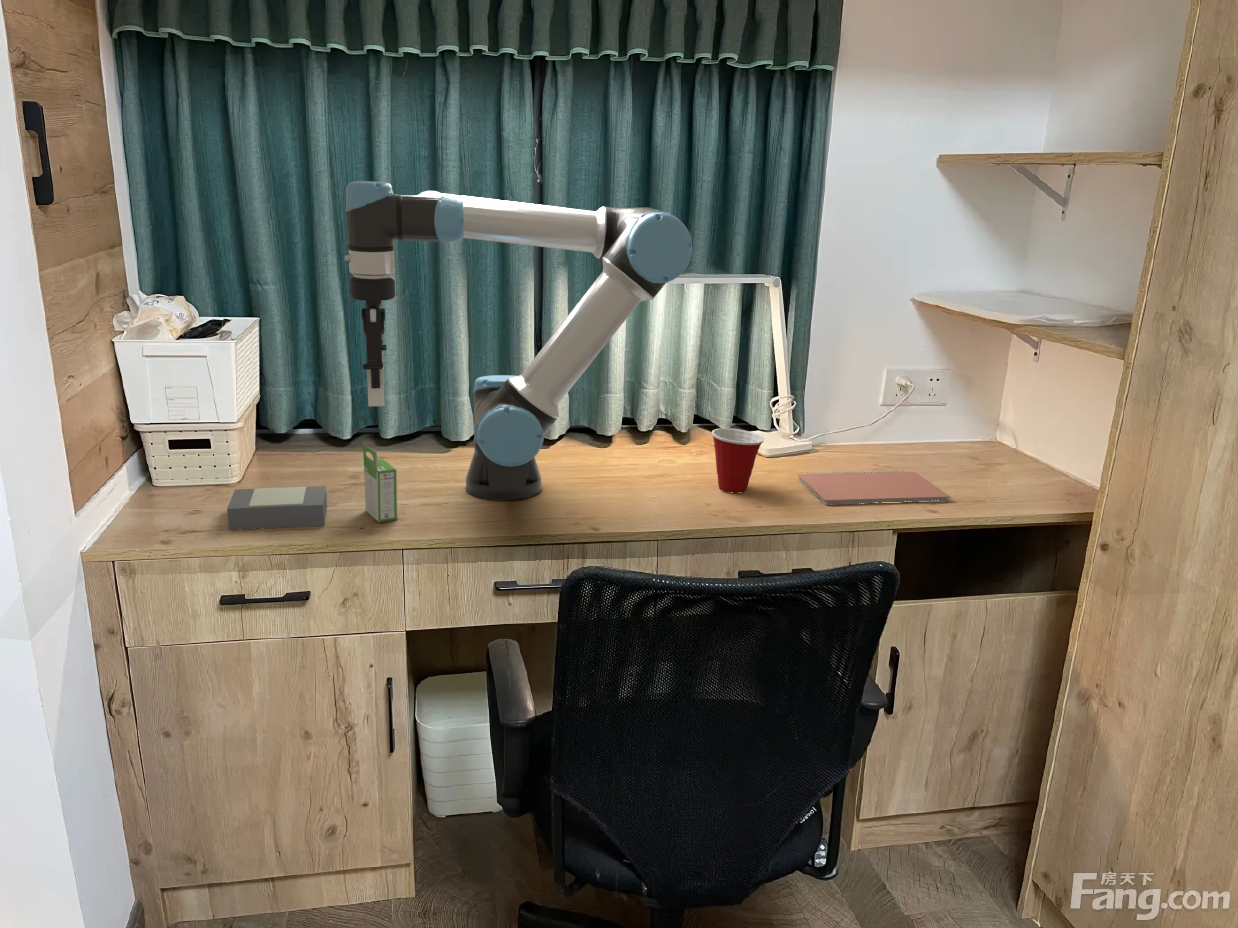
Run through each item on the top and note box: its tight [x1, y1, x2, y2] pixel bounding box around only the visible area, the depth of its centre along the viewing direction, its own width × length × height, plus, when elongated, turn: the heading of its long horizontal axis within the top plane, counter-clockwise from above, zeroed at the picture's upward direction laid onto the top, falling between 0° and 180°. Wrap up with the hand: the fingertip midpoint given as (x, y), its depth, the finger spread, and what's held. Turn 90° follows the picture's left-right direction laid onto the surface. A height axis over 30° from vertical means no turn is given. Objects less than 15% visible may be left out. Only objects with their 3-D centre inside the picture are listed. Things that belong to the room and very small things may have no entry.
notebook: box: [797, 469, 952, 506], centre depth 204 cm, size 27×17×2 cm, turn 101°
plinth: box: [226, 485, 328, 531], centre depth 176 cm, size 16×10×4 cm, turn 103°
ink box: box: [362, 442, 398, 523], centre depth 178 cm, size 7×4×13 cm, turn 33°
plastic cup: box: [711, 427, 765, 494], centre depth 200 cm, size 11×11×12 cm
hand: (376, 396), depth 173 cm, fingers open, 13 cm apart
